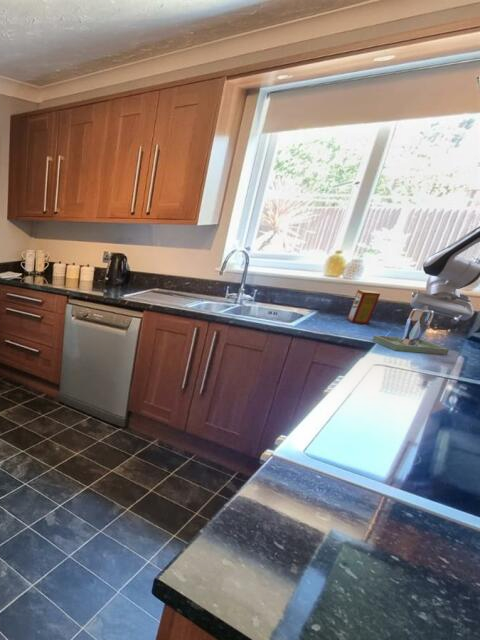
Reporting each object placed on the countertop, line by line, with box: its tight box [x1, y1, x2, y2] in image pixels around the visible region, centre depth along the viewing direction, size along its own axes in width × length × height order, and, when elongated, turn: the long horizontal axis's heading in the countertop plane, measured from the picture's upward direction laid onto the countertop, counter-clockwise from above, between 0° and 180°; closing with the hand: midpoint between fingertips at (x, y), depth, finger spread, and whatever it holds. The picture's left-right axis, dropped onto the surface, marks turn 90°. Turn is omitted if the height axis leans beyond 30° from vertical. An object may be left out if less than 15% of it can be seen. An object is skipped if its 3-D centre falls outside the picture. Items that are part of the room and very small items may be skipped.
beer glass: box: [398, 308, 435, 346], centre depth 176 cm, size 7×7×15 cm
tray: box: [372, 334, 450, 356], centre depth 179 cm, size 18×16×2 cm
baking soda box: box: [346, 289, 381, 325], centre depth 220 cm, size 10×6×16 cm
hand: (441, 318), depth 180 cm, fingers open, 8 cm apart
